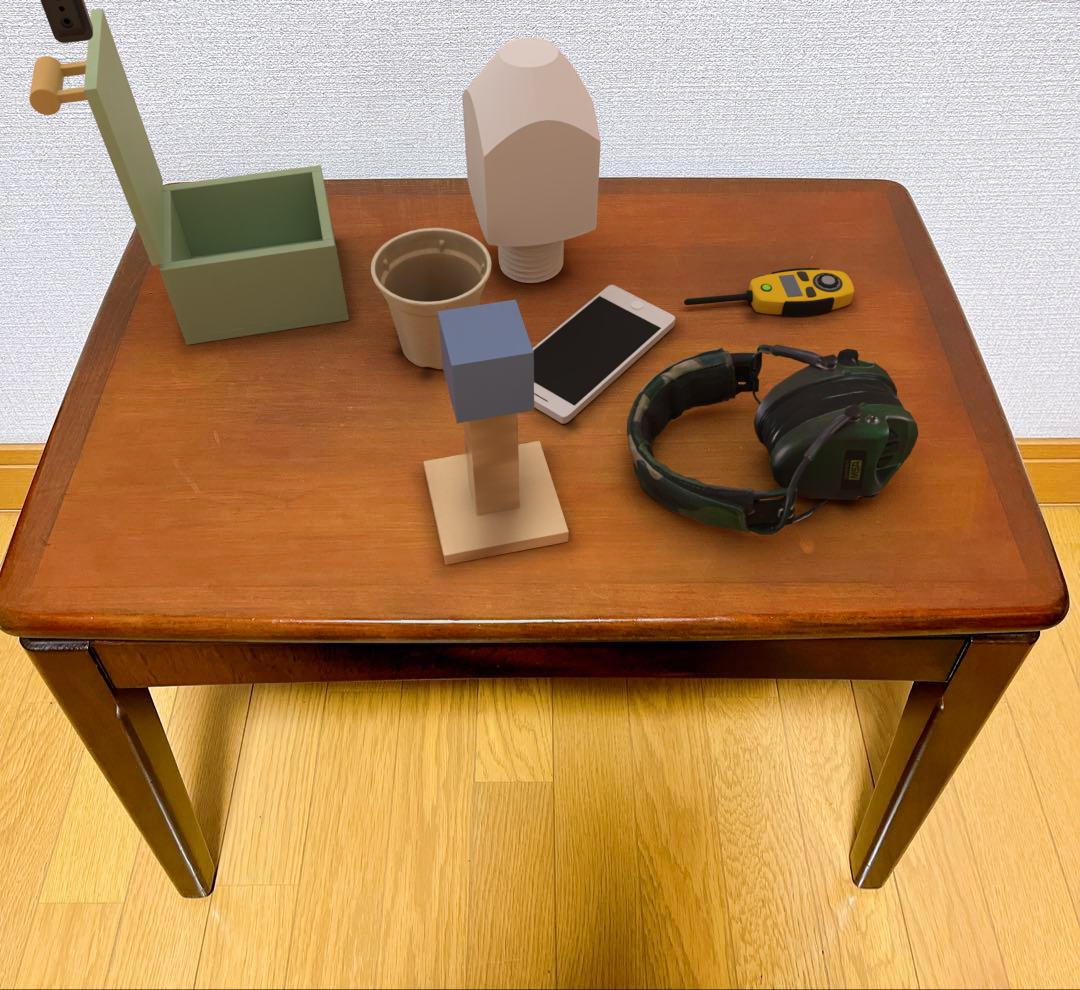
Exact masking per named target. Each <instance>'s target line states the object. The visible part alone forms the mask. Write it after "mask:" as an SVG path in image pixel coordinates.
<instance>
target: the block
mask: <svg viewBox="0 0 1080 990" xmlns="http://www.w3.org/2000/svg"><path fill="white" fill-rule="evenodd" d="M438 322H439V332H440V342H441V351H442V361H443V369H442V370H443V374H444V379H445V382H446V386H447V391H448V393H449V397H450V402H451V405H452V410H453V413H454V417H455V421H456V424H461V423H463V422H468V421H474V420H480V419H486V418H492V417H497V416H503V415H509V414H515V413H518V414H521V413H526V412H530V411H531V412H533V411H535V407H534V351H533V349H532V348H533V346H532V343H531V340H530V336H529V333H528V331H527V328H526V325H525V322H524V319H523V315H522V313H521V311H520V308H519V305H518V302H517V300H516V299H511V300H504V301H498V302H490V303H484V304H480V305H477V306H470V307H464V308H458V309H451V310H445V311H438Z"/></svg>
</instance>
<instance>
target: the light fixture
mask: <svg viewBox="0 0 1080 990" xmlns="http://www.w3.org/2000/svg"><path fill="white" fill-rule="evenodd" d="M461 94H462V95H461V98H462V99H461V100H462V114H463V115H462V116H463V131H464V144H465V146H464V147H465V162H466V163H465V164H466V177H467V185H468V190H469V193H470V197H471V200H472V204H473V208H474V211H475V215H476V218H477V221H478V223H479V226H480V229H481V232H482V234H483V237H484V239H485V241H486V243H487V245H488V246H496V247H497V250H498V251H497V252H498V253H497V254H498V255H497V256H498V263H499V267H500V270H501V272H502V273H503V274H504V275H505V276H506V277H507V278H509V279H511V280H514V281H515V282H516V281H517V282H519V283H524V284H537V283H542V282H546V281H547V280H550V279H552V278H555V277H556V276H557V275H558V274H559V273H560V272H561V270H562V268H563V267H564V248H565V247H564V245H565V244H564V243H565V242H564V241H566V240H571V239H573V238H576V237H580V236H583V235H585V234H587V233H590V232H593V231H595V230H597V221H598V201H599V183H600V181H599V180H600V161H601V144H602V143H601V142H602V141H601V135H600V129H599V125H598V120H597V114H596V109H595V105H594V100H593V99H592V97H591V95H590V93H589V91H588V90H587V88H586V86H585V84H584V82H583V81H582V79H581V77H580V76H579V74H578V72H577V71H576V69H575V68H574V67H573V65H572V63H571V62H570V61H569V59H568V58H567V57H566V56H565V55H564V53H563V52H562V51H561V50H560V49H559V48H558V47H557V46H556V45H555V44H554V43H552V42H551V41H549V40H547V39H543V38H540V37H539V38H537V37H520V38H515V39H513V40H509V41H507V42H505V43H504V44H503V45H502V46H500V48H499V49H498V50H497V51H496V52H495V54H494V55H493V56H492V57H491V59H490V60H489V61H488V62H487V63H486V64H485V65H484V66H483V68H482V69H481V70H480V71H479V72H478V74H477V75H476V76H475V77H474V78H473V80H472V81H471V82H470V84H468V86H467V87H466V88H465V89H464V90H463V92H462V93H461Z"/></svg>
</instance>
